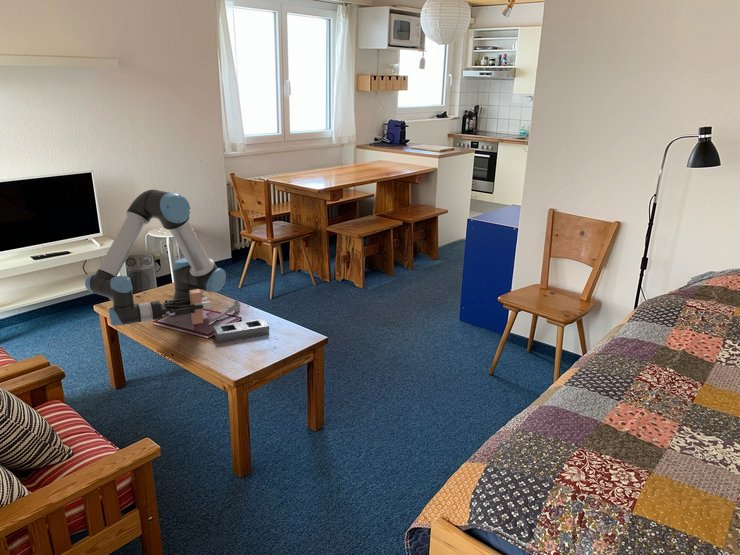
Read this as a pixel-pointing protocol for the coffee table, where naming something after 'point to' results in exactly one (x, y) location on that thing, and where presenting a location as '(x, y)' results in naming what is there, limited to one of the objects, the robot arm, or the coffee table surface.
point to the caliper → (228, 310)
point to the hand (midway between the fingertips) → (209, 302)
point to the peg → (194, 298)
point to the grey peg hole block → (240, 330)
